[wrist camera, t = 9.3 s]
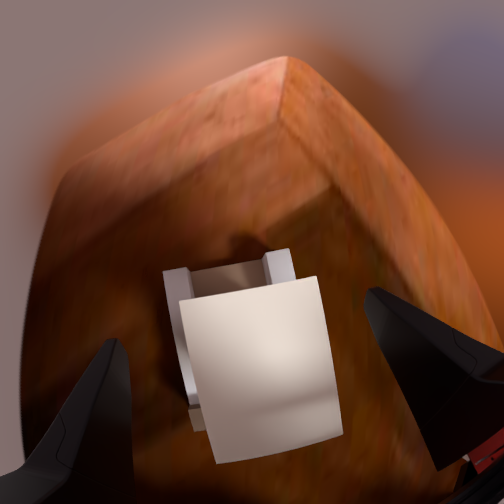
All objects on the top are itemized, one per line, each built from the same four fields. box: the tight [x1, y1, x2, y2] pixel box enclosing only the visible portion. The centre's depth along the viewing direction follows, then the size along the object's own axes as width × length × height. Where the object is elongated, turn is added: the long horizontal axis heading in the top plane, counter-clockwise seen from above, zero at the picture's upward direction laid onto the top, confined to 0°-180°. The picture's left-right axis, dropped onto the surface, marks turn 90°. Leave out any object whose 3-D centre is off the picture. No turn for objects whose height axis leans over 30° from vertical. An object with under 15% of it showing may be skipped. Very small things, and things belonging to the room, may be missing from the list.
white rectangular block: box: [179, 276, 343, 464], centre depth 13 cm, size 4×3×13 cm
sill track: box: [163, 248, 296, 431], centre depth 18 cm, size 10×9×4 cm
